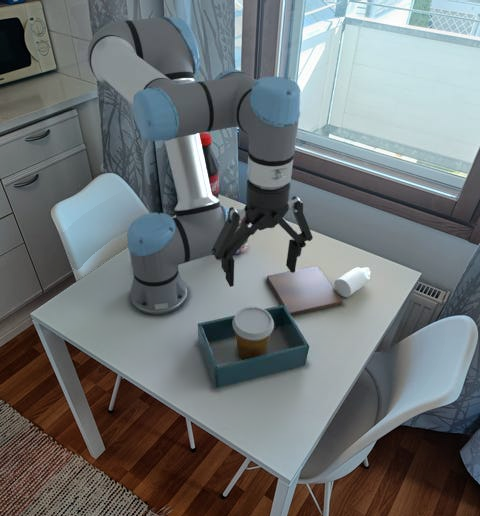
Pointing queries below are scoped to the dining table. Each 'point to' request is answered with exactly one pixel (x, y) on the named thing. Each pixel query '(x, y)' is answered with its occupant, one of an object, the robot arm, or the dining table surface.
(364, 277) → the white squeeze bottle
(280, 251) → the dining table surface
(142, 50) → the robot arm
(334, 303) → the board
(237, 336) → the disposable coffee cup
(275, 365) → the teal open box
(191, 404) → the dining table surface
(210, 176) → the cola bottle
